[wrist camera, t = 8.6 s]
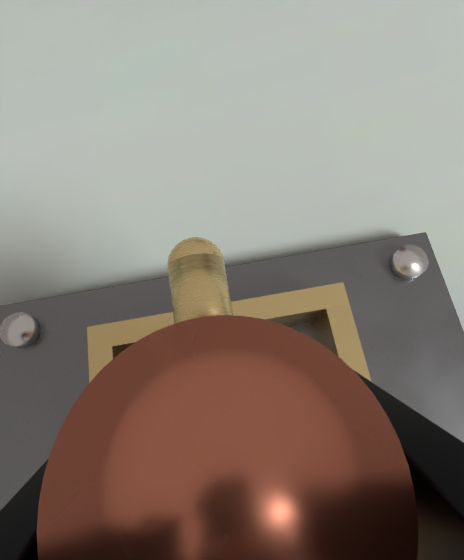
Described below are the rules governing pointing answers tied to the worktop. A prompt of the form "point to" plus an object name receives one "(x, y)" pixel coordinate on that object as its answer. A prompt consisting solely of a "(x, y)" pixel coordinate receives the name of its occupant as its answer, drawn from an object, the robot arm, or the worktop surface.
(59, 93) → the worktop surface
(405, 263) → the gray mounting plate
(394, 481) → the copper cylinder
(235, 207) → the worktop surface
